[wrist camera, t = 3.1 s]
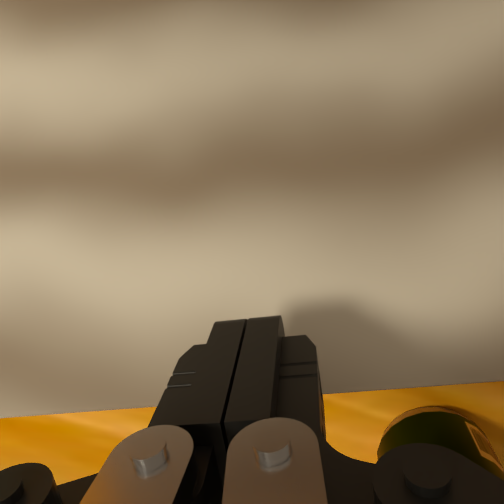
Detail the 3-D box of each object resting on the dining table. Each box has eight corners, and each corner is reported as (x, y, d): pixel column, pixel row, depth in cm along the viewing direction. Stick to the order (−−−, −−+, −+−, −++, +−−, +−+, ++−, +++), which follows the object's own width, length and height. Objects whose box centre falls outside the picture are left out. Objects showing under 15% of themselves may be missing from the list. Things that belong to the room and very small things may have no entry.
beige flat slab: (-8, 42, 18) (-48, 7, 17) (533, -67, 16) (562, -125, 14) (-16, 412, 16) (-65, 422, 14) (638, 362, 13) (692, 367, 11)
